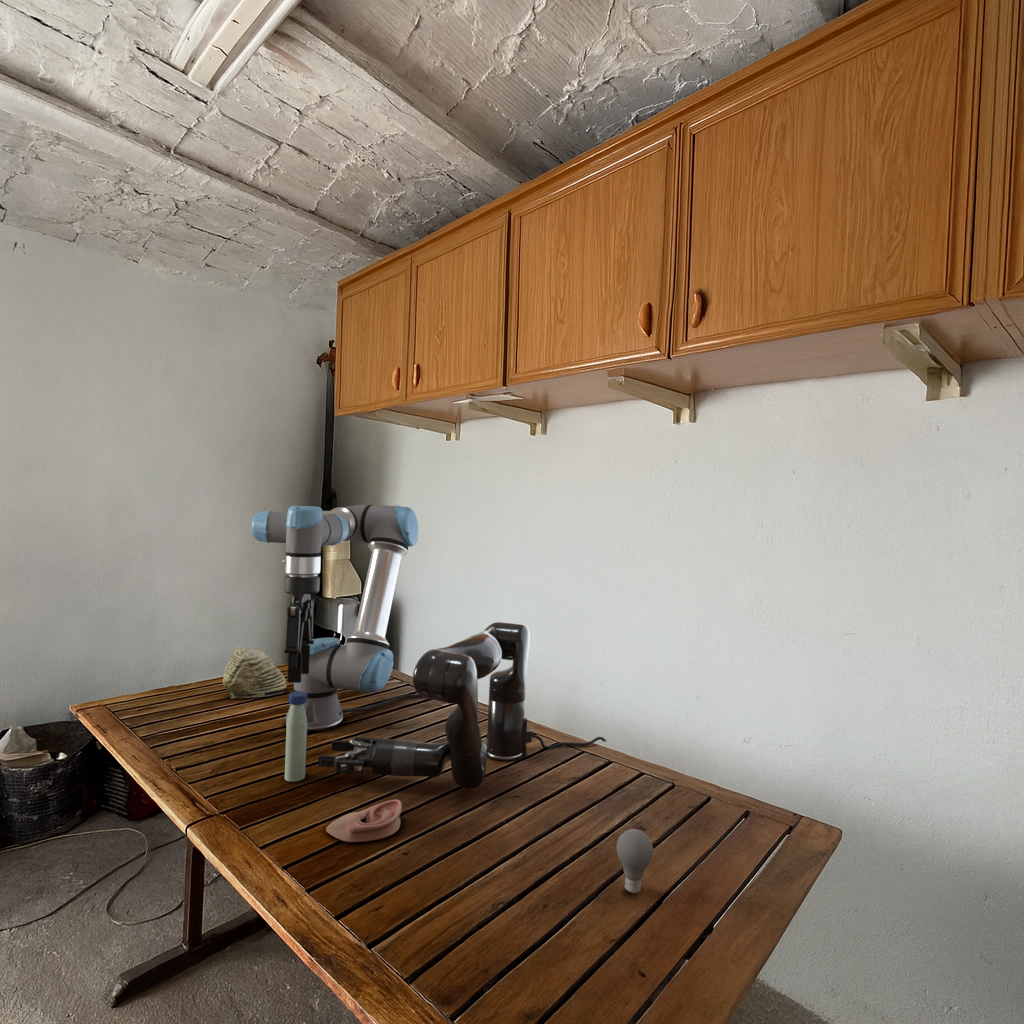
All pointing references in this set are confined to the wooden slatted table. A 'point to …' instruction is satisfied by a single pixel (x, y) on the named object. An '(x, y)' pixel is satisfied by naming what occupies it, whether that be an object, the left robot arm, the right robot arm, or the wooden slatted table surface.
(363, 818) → the anatomical model
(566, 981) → the wooden slatted table surface
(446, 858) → the wooden slatted table surface
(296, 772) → the bottle
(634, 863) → the light bulb
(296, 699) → the cap
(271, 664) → the fossil
